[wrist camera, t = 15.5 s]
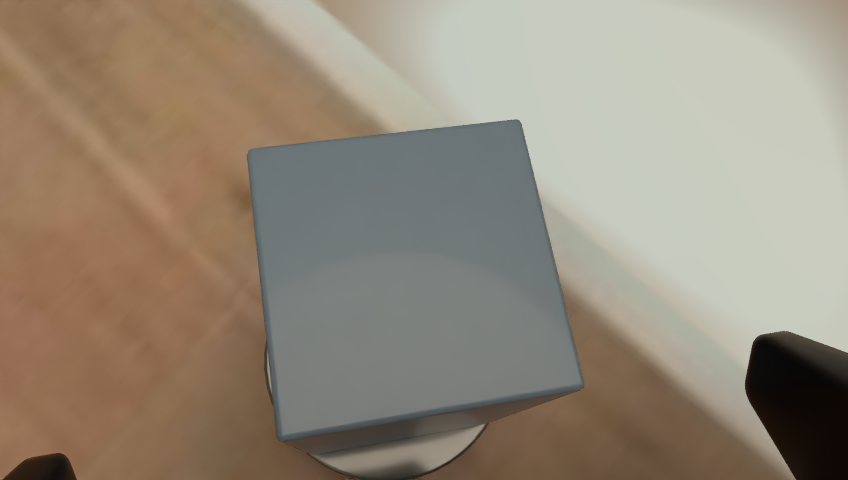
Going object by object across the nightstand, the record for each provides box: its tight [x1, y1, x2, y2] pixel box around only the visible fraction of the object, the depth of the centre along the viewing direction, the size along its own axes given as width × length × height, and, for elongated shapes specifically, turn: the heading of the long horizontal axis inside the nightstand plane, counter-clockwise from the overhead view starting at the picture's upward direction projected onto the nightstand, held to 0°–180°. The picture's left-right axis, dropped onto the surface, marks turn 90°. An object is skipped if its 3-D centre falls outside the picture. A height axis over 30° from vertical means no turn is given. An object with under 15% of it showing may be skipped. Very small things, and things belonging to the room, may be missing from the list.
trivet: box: [264, 339, 489, 480], centre depth 16 cm, size 6×6×2 cm
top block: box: [247, 120, 584, 455], centre depth 12 cm, size 4×4×7 cm
